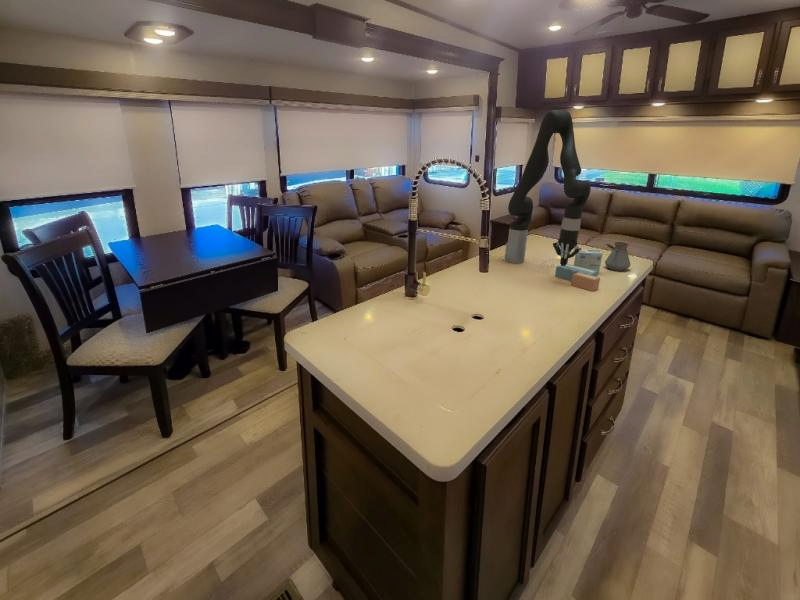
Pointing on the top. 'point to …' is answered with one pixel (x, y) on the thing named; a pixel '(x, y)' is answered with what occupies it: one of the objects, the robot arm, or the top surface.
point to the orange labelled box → (585, 281)
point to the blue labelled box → (572, 271)
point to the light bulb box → (588, 259)
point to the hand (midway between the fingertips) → (563, 265)
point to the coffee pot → (618, 257)
